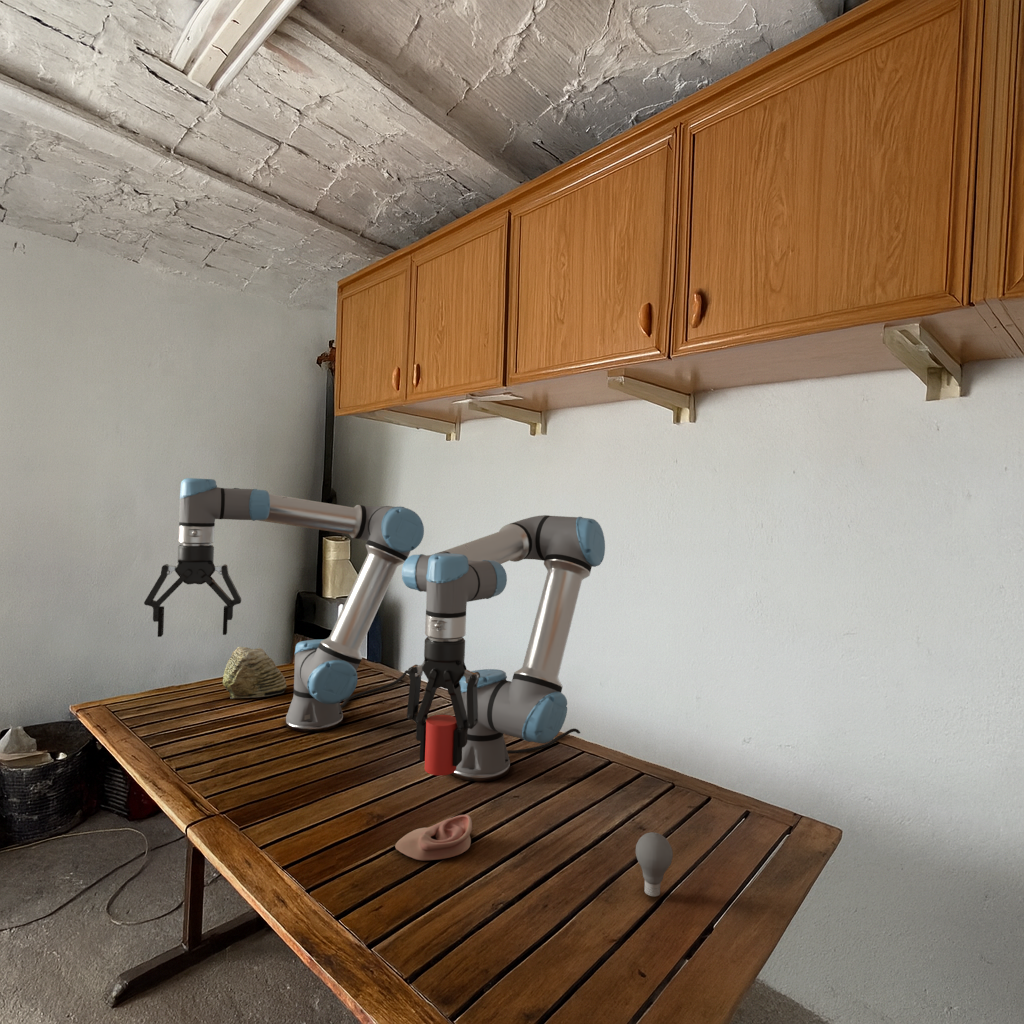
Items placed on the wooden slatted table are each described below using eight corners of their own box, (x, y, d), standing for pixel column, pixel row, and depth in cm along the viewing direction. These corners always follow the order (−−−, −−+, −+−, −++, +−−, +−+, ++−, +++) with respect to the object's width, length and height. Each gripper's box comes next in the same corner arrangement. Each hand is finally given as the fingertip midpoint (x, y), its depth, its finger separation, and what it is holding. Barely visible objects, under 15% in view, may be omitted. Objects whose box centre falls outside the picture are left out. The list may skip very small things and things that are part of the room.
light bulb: (629, 883, 108) (632, 825, 107) (663, 883, 108) (666, 825, 108) (639, 906, 102) (642, 844, 101) (675, 905, 102) (678, 844, 102)
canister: (421, 763, 120) (423, 715, 120) (452, 760, 122) (453, 713, 122) (428, 777, 114) (429, 727, 114) (459, 773, 116) (461, 724, 116)
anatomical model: (389, 833, 113) (412, 803, 124) (388, 855, 113) (411, 823, 124) (460, 844, 110) (477, 813, 121) (459, 867, 110) (476, 833, 121)
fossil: (218, 695, 195) (220, 647, 195) (278, 685, 208) (279, 640, 207) (228, 703, 189) (230, 653, 188) (289, 692, 201) (290, 645, 201)
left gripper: (131, 544, 140) (128, 640, 141) (253, 546, 149) (250, 636, 149) (138, 542, 147) (135, 632, 148) (254, 543, 156) (251, 629, 156)
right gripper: (389, 636, 117) (385, 760, 117) (487, 646, 111) (482, 776, 112) (407, 628, 124) (403, 745, 124) (499, 638, 119) (494, 760, 119)
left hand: (193, 634), depth 148 cm, fingers open, 13 cm apart
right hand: (440, 760), depth 118 cm, fingers closed on canister, 6 cm apart
